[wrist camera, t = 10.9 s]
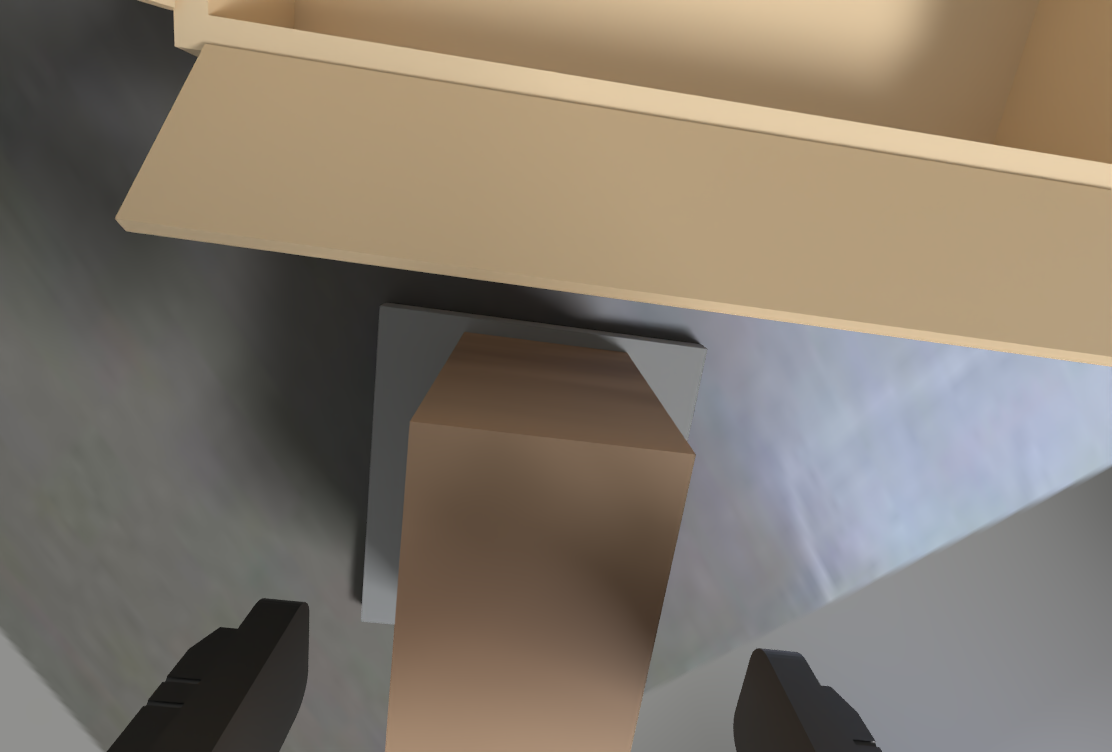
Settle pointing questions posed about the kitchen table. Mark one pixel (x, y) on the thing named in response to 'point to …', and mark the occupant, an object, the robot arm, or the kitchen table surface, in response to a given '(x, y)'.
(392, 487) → the mat
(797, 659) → the robot arm
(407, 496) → the tan rectangular block
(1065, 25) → the carton
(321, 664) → the kitchen table surface
